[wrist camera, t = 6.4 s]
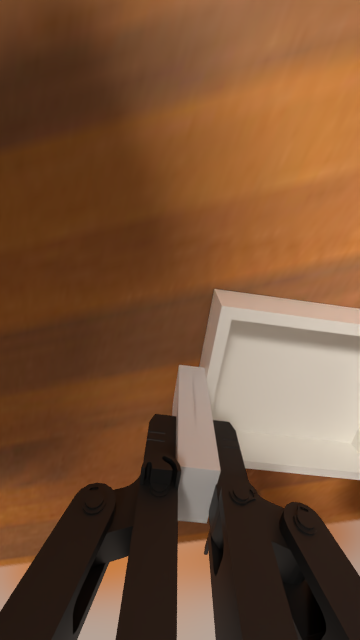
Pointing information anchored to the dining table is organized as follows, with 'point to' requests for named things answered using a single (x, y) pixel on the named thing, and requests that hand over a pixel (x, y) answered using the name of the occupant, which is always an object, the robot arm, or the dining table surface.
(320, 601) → the robot arm
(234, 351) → the tray
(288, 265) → the dining table surface
